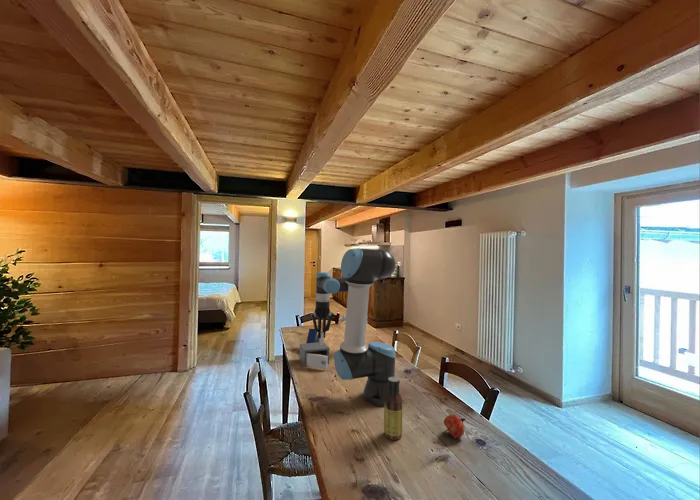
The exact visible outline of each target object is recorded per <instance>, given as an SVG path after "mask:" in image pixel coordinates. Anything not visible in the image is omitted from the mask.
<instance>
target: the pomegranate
mask: <svg viewBox="0 0 700 500" xmlns="http://www.w3.org/2000/svg"><path fill="white" fill-rule="evenodd" d="M466 420H467V419H466V418H465V417H464V418H460V417H459V416H457V415H456V414H448V415H446V417H445V418H444V420H443V424H444V426H445V427H446V430H445V431H442V433H443V434H444V433H445V434H446V432H449V434H450V435H451V436H452V438H453V439H460V438H462V436H463V435H464V434H465V429H466V428H465V424H464V421H466Z"/></svg>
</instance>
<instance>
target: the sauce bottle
mask: <svg viewBox="0 0 700 500" xmlns="http://www.w3.org/2000/svg"><path fill="white" fill-rule="evenodd" d="M400 380H401V379H400V378H399V377H397V376H395V377H389V378H388V392H387V395H386V398H385V401H384V406H383V408H384V409H383V410H384V411H383V413H384V415H383V417H384V420H383V427H384V428H383V430H384V436H385V437H386V438H387V439H389V440H391V439H392V441H398V440H400V439H401V438H402V437H403V436H402V434H403V411H404V410H403V406H404V405H403V397H402V395H401V393H400V382H401V381H400ZM397 439H398V440H397Z"/></svg>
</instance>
